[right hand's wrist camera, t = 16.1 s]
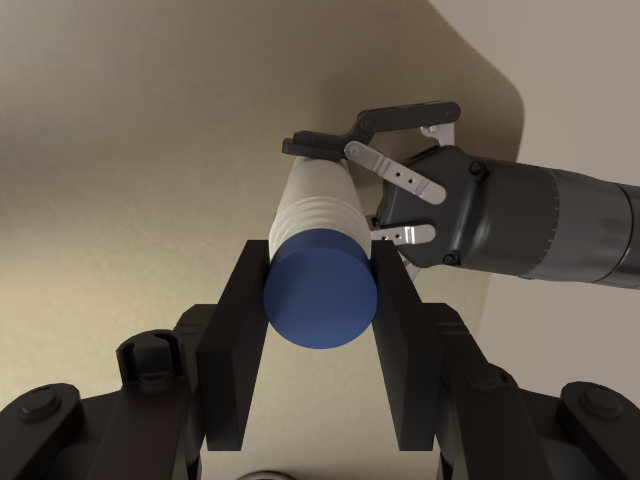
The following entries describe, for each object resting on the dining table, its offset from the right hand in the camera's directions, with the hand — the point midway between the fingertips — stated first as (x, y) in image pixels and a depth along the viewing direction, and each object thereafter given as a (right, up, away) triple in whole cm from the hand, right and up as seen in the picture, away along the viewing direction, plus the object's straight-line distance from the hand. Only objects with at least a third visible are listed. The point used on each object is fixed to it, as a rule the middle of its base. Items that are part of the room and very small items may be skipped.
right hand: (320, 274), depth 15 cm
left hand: (-3, +5, +12) cm, 13 cm away
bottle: (0, +7, +18) cm, 20 cm away
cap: (0, -1, -2) cm, 2 cm away
